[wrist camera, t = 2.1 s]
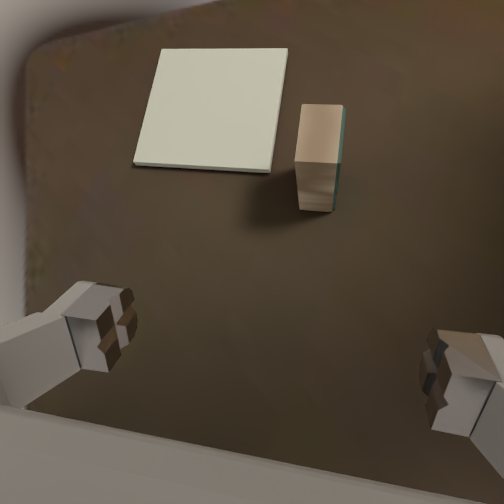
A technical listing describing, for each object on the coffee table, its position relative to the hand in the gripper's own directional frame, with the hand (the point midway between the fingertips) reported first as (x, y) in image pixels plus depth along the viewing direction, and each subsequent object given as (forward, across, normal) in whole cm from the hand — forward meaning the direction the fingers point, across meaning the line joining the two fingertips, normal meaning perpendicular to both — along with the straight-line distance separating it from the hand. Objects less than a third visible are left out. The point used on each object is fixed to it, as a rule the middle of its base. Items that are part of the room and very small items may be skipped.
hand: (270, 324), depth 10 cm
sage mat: (+26, +10, -2) cm, 28 cm away
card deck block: (+21, 0, +3) cm, 21 cm away
